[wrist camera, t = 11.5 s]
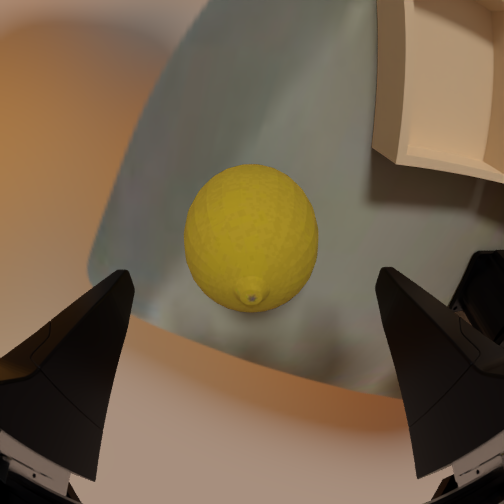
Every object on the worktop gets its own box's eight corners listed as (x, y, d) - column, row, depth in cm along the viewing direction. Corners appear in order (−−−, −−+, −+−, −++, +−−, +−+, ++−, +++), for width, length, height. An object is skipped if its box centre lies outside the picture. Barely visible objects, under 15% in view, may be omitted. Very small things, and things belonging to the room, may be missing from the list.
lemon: (277, 249, 17) (291, 361, 11) (189, 221, 16) (152, 328, 10) (318, 168, 14) (372, 256, 8) (219, 131, 13) (185, 190, 7)
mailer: (481, 166, 13) (509, 184, 11) (371, 147, 14) (395, 164, 11) (490, 8, 7) (519, 8, 4) (372, -45, 7) (394, -63, 4)
